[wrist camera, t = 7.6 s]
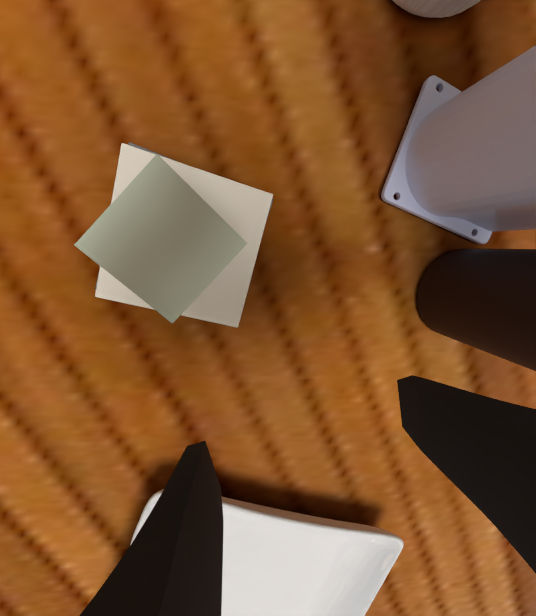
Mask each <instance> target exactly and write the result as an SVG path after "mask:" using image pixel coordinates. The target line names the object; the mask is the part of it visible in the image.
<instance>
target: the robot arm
mask: <svg viewBox="0 0 536 616" xmlns="http://www.w3.org/2000/svg"><path fill="white" fill-rule="evenodd" d="M436 87H438V89H439V92H438V91H437V90H436ZM394 194H396V196H397V199H396V200H394V198H393V196H394ZM381 198H382V199H383V201H385V202H387V203H389V204H391V205H393V206H395V207H398V208H400V209H402V210H404V211H407V212H409V213H411V214H413V215H415V216H418V217H420V218H422V219H424V220H426V221H429V222H431V223H433V224H435V225H438V226H440V227H442V228H444V229H446V230H449V231H451V232H453V233H455V234H457V235H460V236H462V237H464V238H466V239H468V240H471V241H473V242H475V243H477V244H485V243H486V242H488V240H489V238H490V236H491V234H492V232H493V231H510V230H528V229H536V45H535V46H534V47H532V48H530V49H529V50H527V51H526V52H524V53H523V54H521V55H519V56H518V57H516V58H515V59H513V60H511V61H510V62H508V63H507V64H505V65H504V66H502V67H500V68H499V69H497V70H496V71H494V72H493V73H491V74H489V75H488V76H486V77H485V78H483V79H482V80H480V81H478V82H477V83H475V84H474V85H472V86H470V87H469V88H467V89H466V90H464V91H463V92H462V91H460V90H458V89H457V88H455V87H453V86H452V85H450V84H449V83H447V82H445V81H444V80H442V79H440V78H439V77H437V76H435V75H432V76H430V77H429V78H428V79H426V80H425V82H424V83H423V86H422V88H421V91H420V94H419V96H418V99H417V101H416V104H415V107H414V109H413V112H412V114H411V117H410V120H409V122H408V125H407V127H406V130H405V133H404V135H403V138H402V140H401V143H400V146H399V148H398V151H397V153H396V156H395V159H394V161H393V164H392V166H391V169H390V172H389V174H388V177H387V179H386V182H385V184H384V187H383V190H382V193H381ZM472 230H473V234H472ZM397 383H398V392H399V401H400V409H401V418H402V427H403V428H404V429H405V431H406V432H407V433H408V434H409V436H410V437H411V438H412V440H413V441H414V442H415V443H416V445H417V446H418V447H419V448H420V450H421V451H422V452H423V453H424V454H425V455H426V456H427V457H428V458H429V459H430V460H431V461H432V462H433V463H434V464H435V465H436V466H437V467H438V468H439V469H440V470H441V471H442V472H443V473H444V474H445V475H446V476H447V477H448V478H449V479H450V480H451V481H452V482H453V483H454V484H455V485H456V486H457V487H458V488H459V489H460V490H461V491H462V492H463V493H464V494H465V495H466V496H467V497H468V498H469V499H470V500H471V501H472V502H473V503H474V504H475V505H476V506H477V507H478V508H479V509H480V510H481V511H482V512H483V513H484V514H485V515H486V517H487V518H488V519H489V520H490V521H491V522H492V523H493V524H494V525H495V526H496V527H497V528H498V530H499V531H500V532H501V533H502V534H503V535H504V537H505V538H506V539H507V540H508V541H509V542H510V543H511V545H512V546H513V547H514V548H515V549H516V550H517V552H518V553H519V554H520V555H521V556H522V557H523V559H524V560H525V561H526V562H527V563H528V565H529V566H530V567H531V568H532V569H533V571H534V572H535V573H536V409H532V408H528V407H524V406H520V405H516V404H512V403H508V402H504V401H500V400H497V399H493V398H489V397H486V396H482V395H479V394H475V393H472V392H468V391H465V390H462V389H458V388H455V387H452V386H448V385H445V384H442V383H438V382H435V381H432V380H428V379H425V378H421V377H417V376H409V377H406V378H402V379H399V380H397ZM223 523H224V521H223V507H222V495H221V487H220V484H219V481H218V478H217V475H216V472H215V469H214V466H213V463H212V460H211V457H210V454H209V451H208V448H207V445H206V442H205V441H202V442H199V443H196V444H193V445H190V446H187V448H186V449H185V451H184V453H183V455H182V456H181V458H180V460H179V462H178V464H177V466H176V468H175V470H174V472H173V474H172V475H171V477H170V479H169V481H168V483H167V485H166V487H165V488H164V490H163V492H162V494H161V495H160V497H159V499H158V501H157V503H156V504H155V506H154V508H153V509H152V511H151V513H150V514H149V516H148V518H147V519H146V521H145V523H144V524H143V526H142V527H141V529H140V531H139V532H138V534H137V536H136V537H135V539H134V540H133V542H132V544H131V545H130V547H129V548H128V550H127V551H126V553H125V554H124V556H123V557H122V559H121V560H120V562H119V563H118V565H117V566H116V567H115V569H114V570H113V572H112V573H111V574H110V576H109V577H108V579H107V580H106V581H105V583H104V584H103V586H102V587H101V588H100V590H99V591H98V592H97V594H96V595H95V596H94V598H93V599H92V600H91V602H90V603H89V604H88V605H87V607H86V608H85V609H84V611H83V612H82V613H81V614H80V616H221V608H222V569H223Z"/></svg>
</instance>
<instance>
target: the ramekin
mask: <svg viewBox="0 0 536 616" xmlns="http://www.w3.org/2000/svg"><path fill="white" fill-rule="evenodd" d="M392 1H393V2H395V3H396V4H397V5H398V6H400V7H401V8H402V9H404V10H406V11H408V12H409V13H412V14H414V15H418V16H422V17H429V18H433V17H436V18H443V17H450V16H453V15H455V14H458V13H461V12H463V11H465V10H466V9H468V8H470V7H472V6H474V5H475V4H477V3H478V2H479V1H481V0H392Z"/></svg>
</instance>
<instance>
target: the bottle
mask: <svg viewBox="0 0 536 616" xmlns="http://www.w3.org/2000/svg"><path fill="white" fill-rule="evenodd" d="M417 303H418V311H419V313H420V316H421V318H422V320H423V321H424V323H425V324H426V325H427V326H428V327H429V328H430V329H431V330H433V331H435V332H437V333H440V334H442V335H444V336H447V337H450V338H452V339H455V340H457V341H460V342H462V343H465V344H467V345H470V346H473V347H475V348H478V349H480V350H483V351H485V352H488V353H491V354H493V355H496V356H498V357H501V358H503V359H506V360H509V361H511V362H514V363H516V364H519V365H521V366H524V367H527V368H529V369H532V370H534V371H536V249H460V250H456V251H452V252H448V253H446V254H444V255H443V256H441V257H440V258H438V259H436V260H435V261H434V262H433V264H432V265H431V266H430V267H429V268H428V269H427V270H426V272H425V274H424V276H423V278H422V280H421V282H420V285H419V290H418V294H417Z"/></svg>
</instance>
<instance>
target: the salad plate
mask: <svg viewBox="0 0 536 616" xmlns="http://www.w3.org/2000/svg"><path fill="white" fill-rule="evenodd" d="M163 490H164V489H163ZM163 490H160V491H158V492H157V493H155V494H154V495H153V496H152V497H151V498H150V499H149V501H148V503H147V504H146V506H145V508H144V510H143V513H142V515H141V517H140V520H139V522H138V524H137V527H136V529H135V532H134V535H133V538H132V541H131V544H132V542H133V540H134V539H135V537H136V536H137V534H138V532H139V531H140V529H141V527H142V526H143V524H144V523H145V521H146V519H147V518H148V516H149V514H150V513H151V511H152V509H153V508H154V506H155V504H156V503H157V501H158V499H159V497H160V495H161V494H162V492H163ZM222 507H223V521H224V523H223V569H222V608H221V616H364V615H365V613H366V612H367V610H368V608H369V606H370V605H371V603H372V601H373V600H374V598H375V596H376V594H377V593H378V591H379V589H380V587H381V586H382V584H383V582H384V580H385V579H386V577H387V575H388V573H389V571H390V570H391V568H392V566H393V565H394V563H395V561H396V559H397V558H398V556H399V554H400V552H401V550H402V548H403V545H404V544H403V541H402V539H401V538H400V537H398V536H397V535H395V534H393V533H391V532H389V531H387V530H384V529H381V528H377V527H373V526H369V525H364V524H358V523H352V522H345V521H339V520H333V519H327V518H321V517H316V516H310V515H305V514H300V513H295V512H290V511H285V510H281V509H276V508H271V507H266V506H262V505H257V504H253V503H248V502H244V501H239V500H235V499H230V498H226V497H222ZM131 544H130V545H131Z"/></svg>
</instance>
